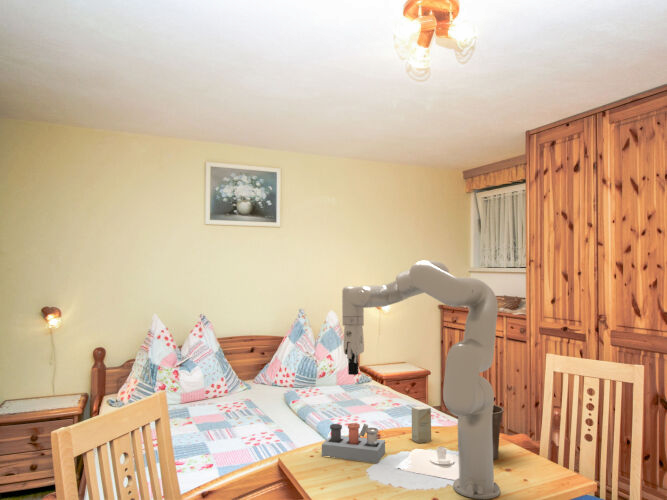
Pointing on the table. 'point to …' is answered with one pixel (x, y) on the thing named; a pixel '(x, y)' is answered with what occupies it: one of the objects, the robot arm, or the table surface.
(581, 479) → the table surface
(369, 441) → the plug grey
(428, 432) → the skincare box
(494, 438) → the plant pot
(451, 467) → the teacup and saucer
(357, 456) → the socket board
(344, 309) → the robot arm
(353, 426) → the plug red
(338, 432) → the plug black
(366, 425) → the grey white bent piece
